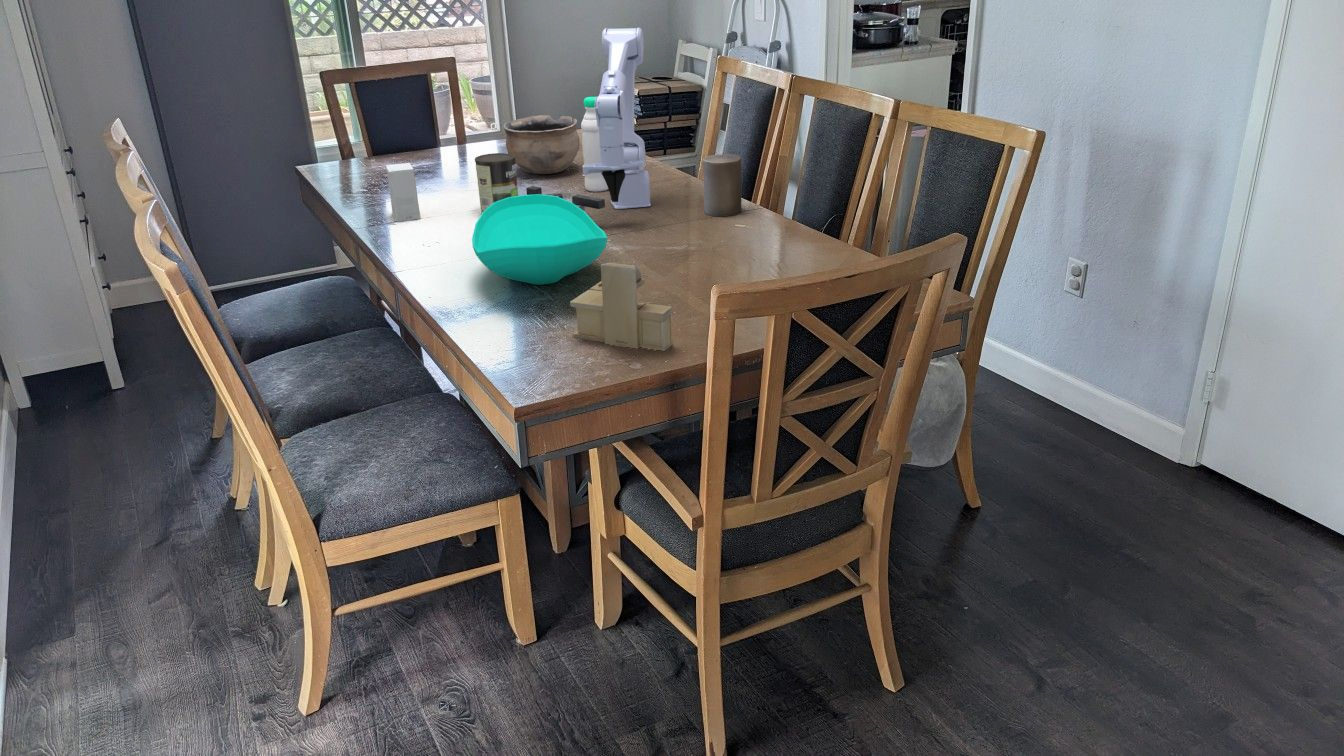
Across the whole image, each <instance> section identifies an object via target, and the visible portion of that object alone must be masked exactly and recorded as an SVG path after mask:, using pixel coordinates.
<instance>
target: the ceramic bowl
mask: <svg viewBox="0 0 1344 756" xmlns="http://www.w3.org/2000/svg"><path fill="white" fill-rule="evenodd" d="M577 119H578V118H573V117H571V116H568V115H567V116H565V115H562V116H560V117H559V118H558V120H556V119H553V118H552V117H551V116H550V115H532V116H528V117H527V116H526V117H523V118H520V119H513V120H510V121H507V122H504V124H503V125H502V126H503V129H504V132H505V135H506V136H505V137H506V138H505V149H506V151H507V154H513V155H515V164H516V166H518V167H519V168H520V169H521V170H523V171H524V172H526V173H527V174H534V175H550V174H557V173H561V172H563V171H565V170H567V169H568V168H569V167H570V166H571V165H572V163H573V162H574V161H575V158H576V157H577V154H578V152H579V150H580V144H581V143H580V142H581V141H580V136H579V133H578V131H577V126H578V120H577Z"/></svg>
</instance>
